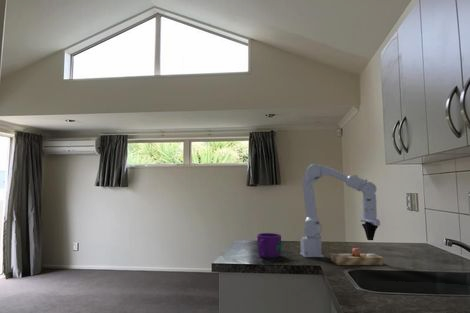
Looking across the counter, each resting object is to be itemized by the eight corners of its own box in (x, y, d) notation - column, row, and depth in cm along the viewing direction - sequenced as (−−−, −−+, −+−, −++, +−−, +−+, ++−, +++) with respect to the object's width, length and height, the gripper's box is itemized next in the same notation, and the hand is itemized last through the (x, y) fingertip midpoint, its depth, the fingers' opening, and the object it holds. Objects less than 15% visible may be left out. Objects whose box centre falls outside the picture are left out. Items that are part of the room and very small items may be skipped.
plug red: (354, 256, 145) (354, 249, 145) (351, 255, 148) (351, 248, 148) (361, 256, 145) (361, 249, 145) (358, 255, 148) (358, 247, 148)
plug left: (340, 262, 144) (339, 255, 144) (337, 261, 147) (337, 253, 147) (347, 262, 144) (347, 255, 144) (344, 261, 147) (344, 253, 148)
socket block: (337, 265, 141) (337, 257, 142) (331, 260, 149) (331, 253, 150) (383, 264, 143) (382, 257, 143) (374, 260, 151) (373, 253, 151)
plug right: (368, 262, 145) (368, 255, 145) (365, 260, 148) (365, 253, 148) (376, 262, 145) (375, 255, 145) (372, 260, 148) (372, 253, 149)
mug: (263, 252, 166) (263, 232, 166) (284, 255, 160) (284, 234, 161) (247, 259, 150) (247, 237, 151) (271, 262, 145) (271, 239, 146)
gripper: (386, 210, 141) (387, 243, 140) (370, 207, 156) (371, 237, 155) (370, 210, 141) (371, 243, 140) (355, 207, 155) (356, 237, 154)
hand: (370, 240), depth 147 cm, fingers closed
